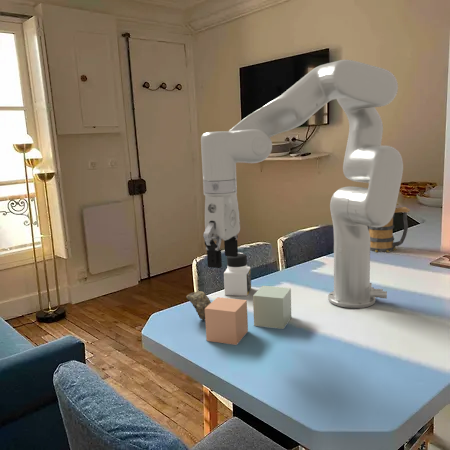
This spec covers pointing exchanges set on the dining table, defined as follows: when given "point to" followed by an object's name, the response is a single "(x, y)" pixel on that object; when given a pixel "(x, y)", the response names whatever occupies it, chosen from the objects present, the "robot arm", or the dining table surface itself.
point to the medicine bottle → (237, 276)
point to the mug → (387, 234)
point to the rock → (199, 302)
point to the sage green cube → (272, 307)
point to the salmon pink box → (226, 320)
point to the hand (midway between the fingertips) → (223, 261)
